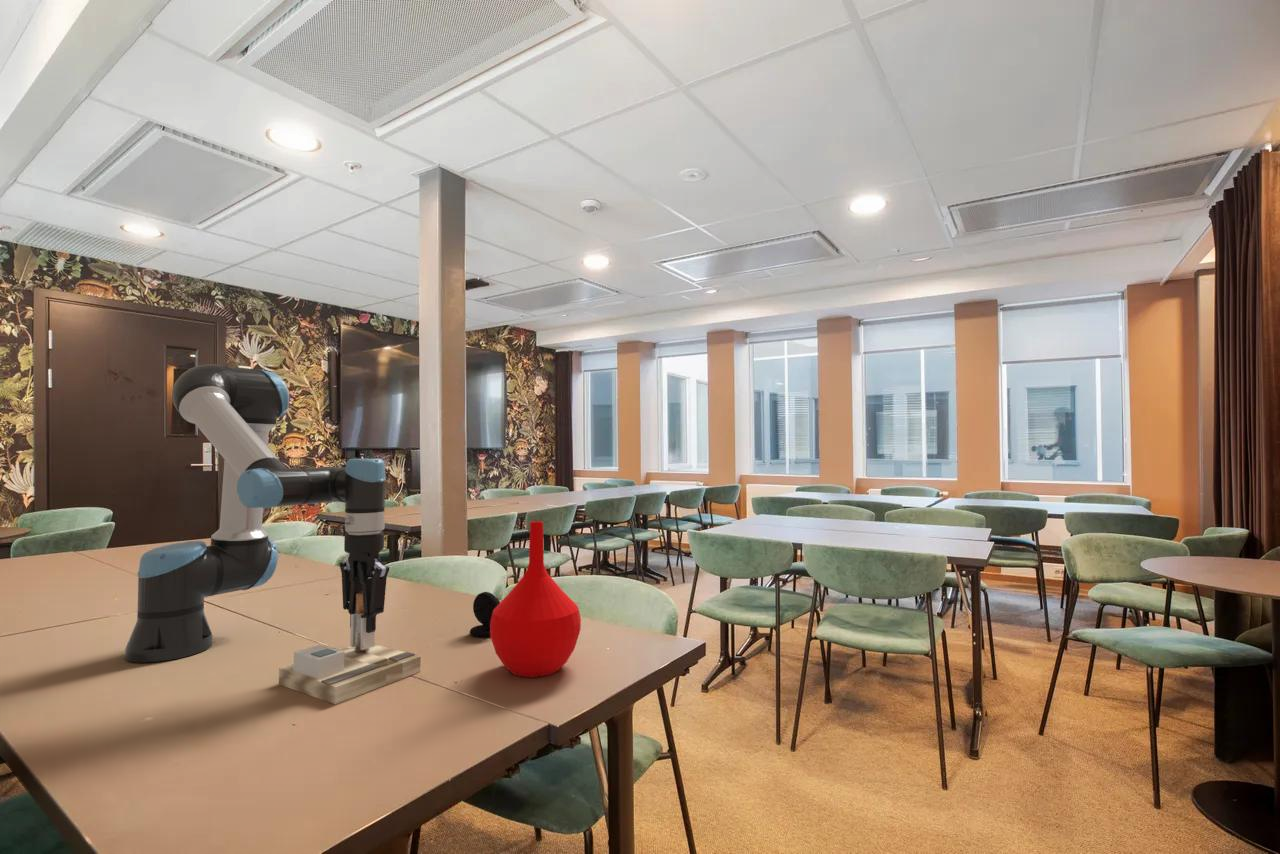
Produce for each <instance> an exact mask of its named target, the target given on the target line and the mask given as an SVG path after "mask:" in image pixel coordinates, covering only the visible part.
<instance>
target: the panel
mask: <svg viewBox="0 0 1280 854" xmlns="http://www.w3.org/2000/svg"><path fill="white" fill-rule="evenodd" d="M339 650H340V651H344V671H341V672H338V673H335V674H332V675H329V676H327V677H324V678H321V679H316V678H313V677H310V676H307V675H304V674H301V673H298V672H295V671H293V666H294V663H291V664H288V665H285V666H282V667H279V668H278V685H280V686H283V687H286V688H288V689H291V690H295V691H297V692H299V693H303V694H305V695H308V696H311V697H314V698H316V699H318V700H322V701H324V702H328V703H330V704H333V705H337V704H339V703H343V702H346V701H348V700H350V699H353V698H355V697H359V696H361V695H363V694H366V693H369V692H372V691H373V690H376V689H379V688H381V687H384V686H386V685H389V684H391V683H394V682H396V681H399V680H402V679H404V678H407V677H409V676H412V675H415V674H418V673H420V672H421V660H422V659H421V656H420V655H416V654H415V653H413V652H409V651H402V650H397V649H394V648H389V647H385V646H383V645H378V644H375V646H374V647H370V651H368V652H366V653H355V647H350V646H347V647H344V648H343V647H342V648H340V649H339Z"/></svg>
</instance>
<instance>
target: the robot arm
mask: <svg viewBox="0 0 1280 854" xmlns="http://www.w3.org/2000/svg"><path fill="white" fill-rule="evenodd" d="M171 393H172V394H171V400H172V403H173V405H174V407H175V409H176V411H177V412H178V414H179V415H180V416H181V417H182V419H184V420H185V421H186V422H188V423H190V424H194V425H195V426H196V427H197V428H198V429H199V430H200V432H201V433H202V434H203V435H204V436H205V437H206V440H208V442H209V443H211V445H212V446H213V447H214V449H215V450H216V451H217V452H218V454H220V455H221V457H222V458H223V461H224V462H223V463H224V464H223V476H222V477H223V480H222V488H221V489H222V490H221V491H222V493H221V503H220V504H221V505H220V517H219V518H220V519H219V528H218V529H217V530H216V531H215V532H214V533H213V534H212V535H211V536H210V537H211V538H210V545H207V544H206V543H205V542H204V541H202V540H191V541H184V542H177V543H176V542H175V543H171V544H167V545H165V544H164V545H162V546H157V547H155V548H152V549H149V550H147V551H146V552H145V553H143V554H142V555H141V557H140V560H139V566H138V571H137V579H138V580H137V581H138V583H137V613H136V614H137V617H136V623H135V625H134V627H133V629H132V633H131V634H130V637H129V639H128V641H127V644H126V647H125V649H124V650H125V654H124V659H125V661H126V662H130V663H136V664H137V663H140V664H141V663H156V662H165V661H171V660H176V659H181V658H185V657H190V656H193V655H196V654H198V653H201V652H204V651H207V650H208V649H210V648H211V647H212V646H213V633H212V630H211V628H210V625H209V622H208V619H207V617H206V614H205V598H207V597H212V596H218V595H224V594H228V593H233V592H239V591H247V590H250V589H252V588H257V587H260V586H263V585H265V584H266V583H268V581H269V580H270V579H272V577H273V575H274V574H275V572H276V570H277V566H278V560H279V552H278V551H279V550H278V549H277V545H276V543H275V542H274V541H273V540H271V539H270V538H269V533H268V532H267V531H266V530H265V529H264V528H263V518H264V515H263V514H264V509H273V508H278V507H289V506H299V505H300V506H302V505H313V504H315V505H316V504H327V503H344V507H345V509H344V512H345V516H344V517H345V518H344V522H345V523H344V531H345V532H347V533H345V535H344V538H343V539H344V542H343V543H344V544H343V545H344V546H343V548H344V549H343V550H344V552H345V553H347V554H349V555H348V557H347V560H346V561H341V562H339V569H340V573H341V588H342V589H341V590H342V591H341V592H342V608H343V610H347V612H348V614H349V615H350V616H349V617H350V619H349V623H350V624H349V627H350V641H349V642H350V644H349V647H355V617H356V593H357V592H361V591H362V592H363V608H364V615H361V643H360V649H361V650H364V649H367V648H370V647H374V646H375V645H376V644H375V641H376V640H375V638H376V629H377V627H376V625H377V615H379V614H382V613H384V611H385V602H386V591H387V589H386V588H387V587H386V586H387V579H388V578H387V577H388V575H389V572H390V566H389V565H383V564H382V563H381V557H380V552H382V551H383V550H384V548H385V533H384V530H385V526H386V525H385V523H386V522H385V518H386V517H385V514H386V513H385V507H386V506H385V505H386V503H385V502H386V498H385V497H386V479H387V477H386V464H385V461H384V460H383V459H382V458H349V459H348V460H346V461H345V462H346V463H345V467H336V466H322V467H295V468H291V467H289V468H288V467H286V466H285V464H284V463H283V462H281V460H280V459H279V458H278V457H277V456H276V454H274V452H273V451H272V450H271V449H270V448H269V447H268V446H269V433H270V431H271V430H273V428H275V427H276V426H277V419H280V418H282V417H284V416H285V415H286V414H287V410H288V409H289V407H290V392H289V389H288V385H287V384H286V382H285V381H284V378H282V376H280V375H279V374H277V373H275V372H273V371H267V370H263V369H259V368H256V369H255V368H247V367H237V366H228V365H220V364H215V363H207V364H200V365H197V366H194V367H191V368H189V369H187V370H186V371H184V372H182V374H181V375H179V377H178V378H177V379H176V380H175V382H174V384H173V387H172V391H171Z"/></svg>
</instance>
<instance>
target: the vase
mask: <svg viewBox="0 0 1280 854" xmlns="http://www.w3.org/2000/svg"><path fill="white" fill-rule="evenodd" d="M544 542H545V541H544V521H542V520H534V521H530V522H529V546H528V553H529V554H528V556H529V557H528V566H527V569H526V571H525V572H524V574H523V576H522V577H521V578H520V580H519V581H518V582H517V583H516V584H515V585H514V587H513V588H512V589H511V591H509V593H507V595H505V597H504V598H503V599H502V600H501V601H500V603H499V604H498V605H497V607H496V608H495V609H494V610H493V613H492V617H491V622H490V630H489V631H490V636H491V637H490V638H491V642H492V645H493V648H494V651H495V654H496V656H497V657H498V659H499V661H500V662H501V664H502V665H504V668H506V669H507V670H508V671H509V672H510V673H511V674H513V675H516V676H519V677H523V676H524V677H525V678H539V677H538V676H540V677H543V676H544V677H545V675H546V676H549V675H552V674H554V673H556V671H557V672H558V671H559V670H560V669H561V668H563V666H565V665H566V663H567V662H568V660H569V658H570V657H571V656H572V653H573V652H574V650H575V648H576V645H577V642H578V639H579V635H580V634H581V633H580V632H581V628H582V627H581V626H582V625H581V624H582V621H581V620H582V618H581V613H580V609H579V606H578V604H577V603H575V602H574V601H573V599H572V598H570V597H569V595H567V593H565V591H564V590H562V588H561V587H560V586H559V585H558V583H556V581H555V580H554V579H553V578H552V576H551V575H549V573H548V571H547V569H546V567H545V563H544V561H545V559H544V555H545V554H544V548H545V547H544V545H545V544H544Z"/></svg>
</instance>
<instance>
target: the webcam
mask: <svg viewBox="0 0 1280 854" xmlns="http://www.w3.org/2000/svg"><path fill="white" fill-rule="evenodd" d="M500 602H501V601H500V600H499V598H497V597H496V596H495V595H494V594H493V593H491V592H489V591H484V592H483V591H482V592H480V593H478V594H477V595H476V596H475V598H474V601H473V605H472V607H473V608H472V609H473V614H474V616H475V619H476V620H477V621H478V622H479V623H480V624H479V625H476V626H473V627H471V628H470V630H469V635H470V636H472V637H473V638H479V639H480V638H482V639H484V638H485V639H486V638H491V636H490V622H491V617H492V613H493V610H494V609H495V608H496V607H497V605H498V604H499V603H500Z"/></svg>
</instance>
